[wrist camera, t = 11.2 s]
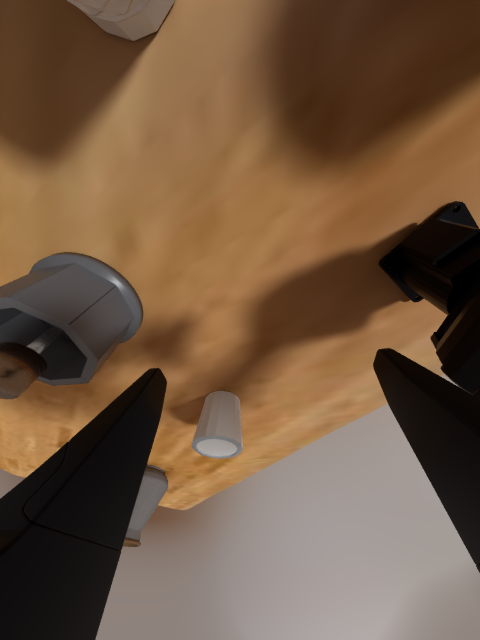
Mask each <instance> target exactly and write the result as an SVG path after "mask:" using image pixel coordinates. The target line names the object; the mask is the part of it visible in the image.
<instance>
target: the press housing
mask: <svg viewBox="0 0 480 640" xmlns="http://www.w3.org/2000/svg"><path fill="white" fill-rule="evenodd" d="M40 319H41V320H43V321H45V322H48V323H50V324H52V325H54V326H57V327H59V328H61V329H63V330H64V331H65V333H66V334H67V335H68V336H69V337H70V339H71V340H72V341H73V342H72V341H70V340H67V339H65V338H63V337H61V336H60V337H59V338H58V339H56V340H55V341H54V342H53V343H52V344H51V345H49V346H48V347H47V348H46V349H45V350H43V351H42V352H41V353H40V355H41V356H42V357H43V358H44V359H45V360H46V362H47V365H48V368H47V370H46V371H45V372H44V373H43V374H41V375H40V376H39V377H38V378H37V379H36V380H38V381H41V382H44V383H47V384H50V385H53V386H56V385H69V384H82V383H89V382H90V380H91V379H92V378H93V377H94V375H95V374H96V373H97V371H98V370H99V369H100V368H101V366H102V365H103V364H104V362H105V361H106V360H107V359H108V357H109V356H110V355H111V353H112V352H113V351H114V350H115V348H116V347H117V346H118V344H119V343H122V342H125V341H127V340H129V339H130V338H131V337H132V336H133V335H134V334H135V333H136V332H137V330H138V329H139V327H140V326H141V323H142V320H143V308H142V304H141V301H140V299H139V296H138V295H137V293H136V291H135V290H134V288H133V287H132V286H131V284H130V283H129V282H128V281H127V280H126V279H125V278H124V277H123V276H122V275H121V274H120V273H119V272H117V271H116V270H115V269H113V268H112V267H110V266H109V265H107V264H106V263H104V262H102V261H100V260H98V259H96V258H93V257H91V256H87V255H84V254H79V253H72V252H64V253H57V254H53V255H51V256H49V257H46V258H44V259H42V260H40V261H38V262H37V263H36V264H35V265H34V266H33V267H32V269H31V271H30V274H28V275H25V276H23V277H21V278H19V279H16V280H14V281H12V282H10V283H8V284H5V285H3V286H1V287H0V343H2V342H15V343H19V344H22V345H25V346H28V345H29V344H30V343H32V342H33V341H34V340H35V339H37V338H38V337H39V336H41V335H42V334H43V333H45V332H46V331H47V330H49V328H48V327H47V326H45V325H44V324H43V322H42V321H41V320H40Z"/></svg>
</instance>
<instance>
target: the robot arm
mask: <svg viewBox="0 0 480 640" xmlns="http://www.w3.org/2000/svg"><path fill="white" fill-rule="evenodd" d="M456 206H457V207H456ZM455 207H456V209H455V210H454V211H453V209H454V208H455ZM387 261H388V263H387V264H386V265H384V264H385V262H387ZM379 265H380V267H381V268H382V269H383V270H384V271H385V272H386V274H387V275H388V276H389V277H390V278H391V279H392V280H393V281H394V282H395V283H396V284H397V286H398V287H399V288H400V289H401V290H402V291H403V292H404V293H405V294H406V295H407V296H408V298H409V299H410V300H412V301H413V302H419V301H421V300H422V299H426V300H427V301H429V302H430V303H431V304H433V305H434V306H436V307H437V308H438V309H440V310H441V311H443V312H444V313H445V314H447V315H448V316H447V317H446V318H445V320H444V321H443V323H442V324H441V326H440V327H439V329H438V330H437V332H434V333H433V335H432V336H431V340H432V342H433V344H434V346H435V348H436V354H437V356H438V357H439V359H440V361H441V363H442V364H443V365H442V366H441V370H442V371H443V373H444V374H445V375H446V376H448V377H449V379H451V380H452V381H453V382H454V383H455V384H457V385H458V386H459V387H458V386H456V385H454V384H453V383H451V382H449V381H447V380H446V379H444V378H442V377H440V376H439V375H437V374H435V373H433V372H432V371H430V370H428V369H426V368H425V367H423V366H421V365H419V364H418V363H416V362H414V361H412V360H411V359H409V358H407V357H405V356H404V355H402V354H400V353H398V352H397V351H395V350H393V349H391V348H386V349H379V350H378V351H377V353H376V357H375V360H374V363H373V367H374V370H375V373H376V375H377V378H378V380H379V383H380V385H381V388H382V390H383V392H384V395H385V397H386V400H387V402H388V404H389V406H390V408H391V410H392V412H393V414H394V416H395V418H396V420H397V421H398V423H399V425H400V427H401V429H402V430H403V432H404V434H405V436H406V438H407V440H408V442H409V443H410V445H411V447H412V449H413V451H414V453H415V454H416V456H417V458H418V460H419V462H420V463H421V466H422V467H423V469H424V471H425V473H426V475H427V477H428V478H429V480H430V482H431V484H432V486H433V488H434V489H435V491H436V493H437V495H438V497H439V498H440V500H441V502H442V504H443V506H444V508H445V510H446V511H447V513H448V515H449V517H450V519H451V521H452V522H453V524H454V526H455V528H456V530H457V531H458V534H459V535H460V537H461V539H462V541H463V543H464V545H465V546H466V548H467V550H468V552H469V554H470V556H471V557H472V559H473V561H474V563H475V564H476V567H477V569H478V571H479V572H480V229H479V227H478V226H477V224H476V222H475V221H474V219H473V217H472V216H471V214H470V212H469V210H468V209H467V207H466V205H465V204H464V203H463V202H458V201H455V202H452V203H451V204H449V205H448V206H447V207H446V208H444V209H443V210H442V211H441V212H439V213H438V214H437V215H436V216H434V217H433V218H432V219H430V220H429V221H427V222H426V223H425V224H424V225H423V226H421V227H420V228H419V229H418V230H416V231H415V232H414V233H413V234H411V235H410V236H409V237H408V238H406V239H405V240H404V241H403V242H402V243H401V244H400V245H399V246H397V247H396V248H395V249H394V250H392V251H391V252H390V253H389V254H387V255H386V256H385V257H384V258H382V259H381V260H380V262H379ZM417 296H418V297H417ZM415 297H416V298H415ZM166 386H167V380H166V378H165V376H164V375H163V373H162V371H161V370H160V369H159V368H151V369H149V370H148V371H146V372H145V373H144V374H143V375H142V376H141V377H140V378H139V379H137V380H136V381H135V382H134V383H133V384H132V385H131V386H130V387H129V388H127V389H126V390H125V391H124V392H123V393H122V394H121V395H120V396H118V397H117V398H116V399H115V400H114V401H113V402H112V403H111V404H110V405H108V406H107V407H106V408H105V409H104V410H103V411H102V412H101V413H99V414H98V415H97V416H96V417H95V418H94V419H93V420H92V421H91V422H89V423H88V424H87V425H86V426H85V427H84V428H83V429H82V430H80V431H79V432H78V433H77V434H76V435H75V436H74V437H73V438H72V439H70V441H69V442H67V443H66V444H65V445H64V446H63V447H61V448H60V449H59V450H58V451H57V452H56V453H55V454H53V455H52V456H51V457H50V458H49V459H48V460H47V461H45V462H44V463H43V464H42V465H41V466H40V467H38V468H37V469H36V470H35V471H34V472H32V473H31V474H30V475H29V476H28V477H26V478H25V479H24V480H23V481H22V482H21V483H19V484H18V485H17V486H15V487H14V488H13V489H12V490H11V491H9V492H8V493H7V494H6V495H5V496H3V497H2V498H1V499H0V640H95V639H96V635H97V632H98V628H99V625H100V622H101V618H102V615H103V612H104V608H105V605H106V601H107V598H108V594H109V591H110V588H111V584H112V581H113V578H114V574H115V571H116V567H117V564H118V561H119V557H120V554H121V550H122V547H123V543H124V540H125V537H126V533H127V530H128V526H129V523H130V520H131V516H132V513H133V510H134V506H135V503H136V499H137V496H138V493H139V489H140V486H141V482H142V479H143V476H144V472H145V469H146V466H147V462H148V459H149V455H150V452H151V449H152V445H153V442H154V438H155V435H156V432H157V428H158V425H159V421H160V417H161V413H162V408H163V402H164V397H165V392H166Z"/></svg>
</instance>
